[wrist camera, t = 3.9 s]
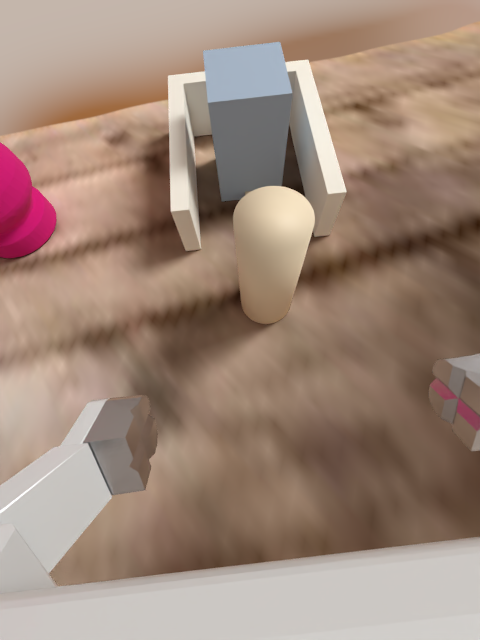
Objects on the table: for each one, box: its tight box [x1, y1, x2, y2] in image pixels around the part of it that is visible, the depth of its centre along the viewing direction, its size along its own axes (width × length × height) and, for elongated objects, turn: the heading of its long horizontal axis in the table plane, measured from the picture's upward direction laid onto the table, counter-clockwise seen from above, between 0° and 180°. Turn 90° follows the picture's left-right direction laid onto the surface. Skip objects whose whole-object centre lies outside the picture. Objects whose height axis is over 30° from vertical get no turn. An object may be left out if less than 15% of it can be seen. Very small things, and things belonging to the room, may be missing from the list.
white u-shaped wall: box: [168, 60, 346, 251], centre depth 23 cm, size 14×11×4 cm
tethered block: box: [203, 42, 315, 324], centre depth 19 cm, size 16×5×9 cm, turn 6°
